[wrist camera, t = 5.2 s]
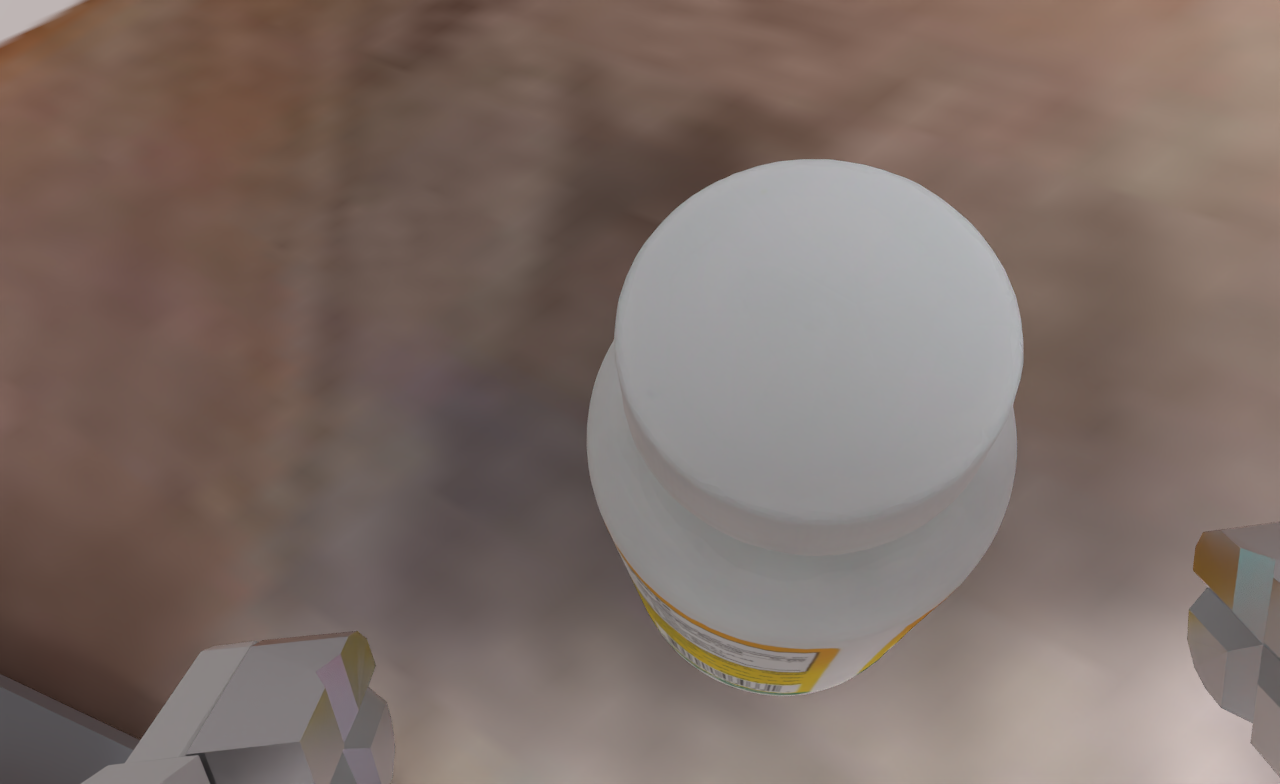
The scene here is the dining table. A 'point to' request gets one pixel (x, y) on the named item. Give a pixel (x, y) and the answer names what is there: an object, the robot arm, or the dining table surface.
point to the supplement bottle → (805, 419)
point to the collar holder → (53, 739)
